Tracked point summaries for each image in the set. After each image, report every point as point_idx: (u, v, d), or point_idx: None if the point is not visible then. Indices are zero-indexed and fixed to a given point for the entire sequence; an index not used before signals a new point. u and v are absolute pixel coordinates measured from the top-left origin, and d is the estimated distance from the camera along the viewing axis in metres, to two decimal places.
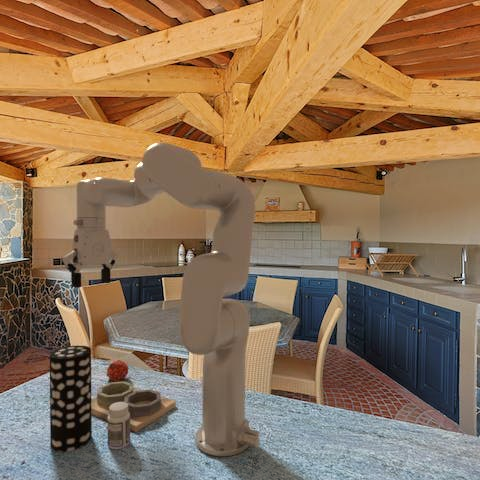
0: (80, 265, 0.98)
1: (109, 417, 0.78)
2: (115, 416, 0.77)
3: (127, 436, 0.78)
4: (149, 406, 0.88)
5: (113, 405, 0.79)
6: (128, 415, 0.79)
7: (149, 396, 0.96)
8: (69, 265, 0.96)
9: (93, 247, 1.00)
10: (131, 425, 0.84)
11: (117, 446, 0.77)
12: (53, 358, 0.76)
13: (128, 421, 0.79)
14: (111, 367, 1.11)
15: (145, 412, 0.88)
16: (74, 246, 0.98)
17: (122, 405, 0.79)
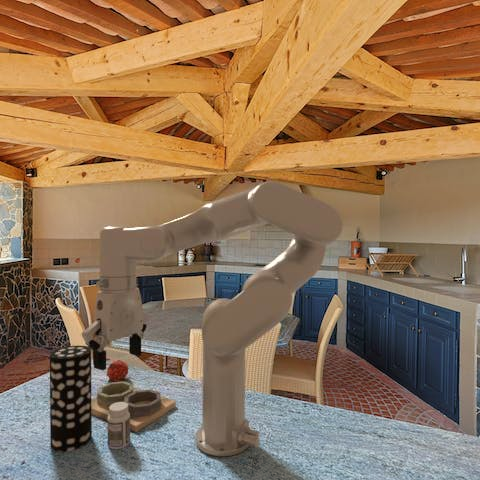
0: (105, 340, 0.74)
1: (109, 417, 0.78)
2: (115, 416, 0.77)
3: (127, 436, 0.78)
4: (149, 406, 0.88)
5: (113, 405, 0.79)
6: (128, 415, 0.79)
7: (149, 396, 0.96)
8: (91, 343, 0.72)
9: (121, 315, 0.76)
10: (131, 425, 0.84)
11: (117, 446, 0.77)
12: (53, 358, 0.76)
13: (128, 421, 0.79)
14: (111, 367, 1.11)
15: (145, 412, 0.88)
16: (97, 315, 0.74)
17: (122, 405, 0.79)
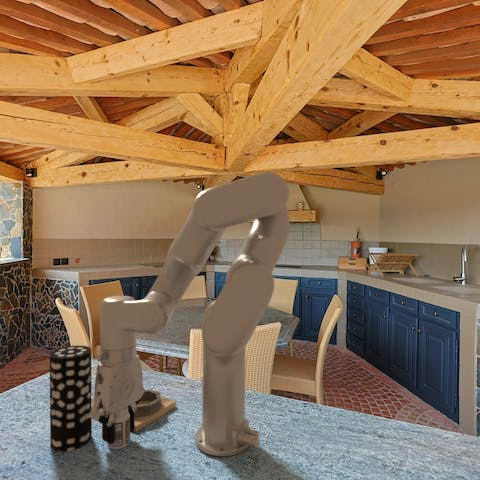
0: (111, 415, 0.76)
1: None
2: (115, 416, 0.77)
3: (127, 436, 0.78)
4: (149, 406, 0.88)
5: None
6: (128, 415, 0.79)
7: (149, 396, 0.96)
8: (100, 419, 0.74)
9: (122, 387, 0.76)
10: None
11: (117, 446, 0.77)
12: (53, 358, 0.76)
13: (128, 421, 0.79)
14: None
15: (145, 412, 0.88)
16: (98, 388, 0.75)
17: None
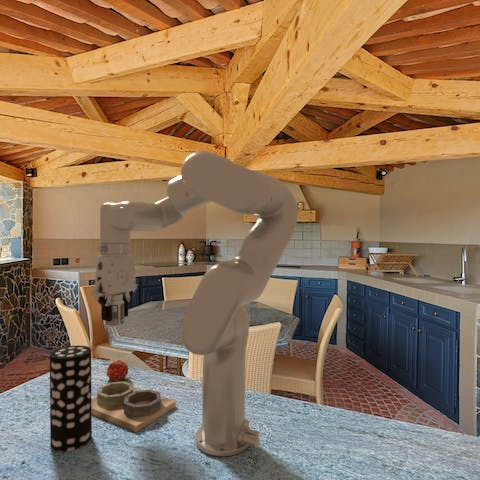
0: (109, 297, 0.92)
1: None
2: (112, 300, 0.94)
3: (122, 318, 0.95)
4: (149, 406, 0.88)
5: None
6: (122, 301, 0.96)
7: (149, 396, 0.96)
8: (100, 298, 0.91)
9: (118, 275, 0.93)
10: (131, 425, 0.84)
11: (113, 324, 0.94)
12: (53, 358, 0.76)
13: (122, 305, 0.95)
14: (111, 367, 1.11)
15: (145, 412, 0.88)
16: (98, 274, 0.91)
17: None
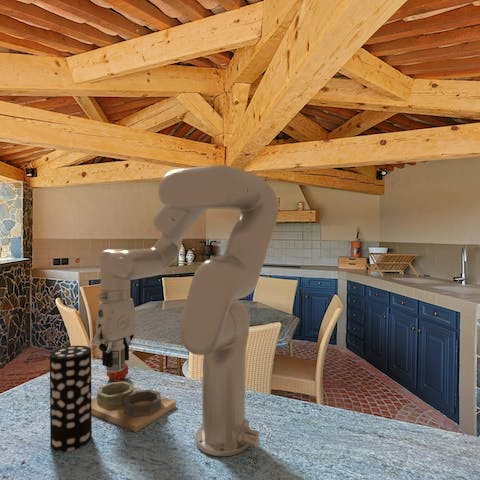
0: (109, 343, 0.93)
1: None
2: (112, 346, 0.95)
3: (122, 363, 0.96)
4: (149, 406, 0.88)
5: None
6: (123, 346, 0.97)
7: (149, 396, 0.96)
8: (101, 346, 0.92)
9: (118, 321, 0.94)
10: (131, 425, 0.84)
11: (114, 370, 0.95)
12: (53, 358, 0.76)
13: (123, 350, 0.96)
14: None
15: (145, 412, 0.88)
16: (99, 321, 0.92)
17: None
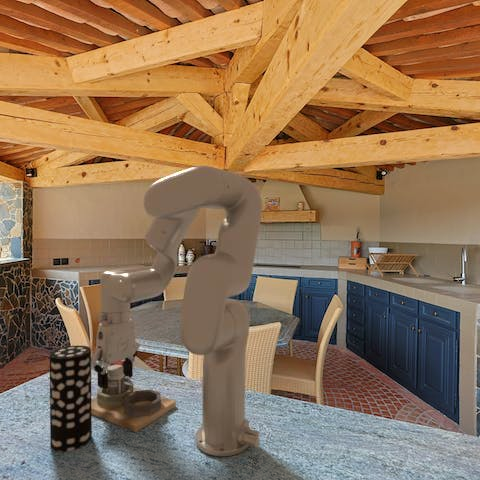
0: (106, 365, 0.93)
1: None
2: (112, 375, 0.95)
3: (122, 392, 0.96)
4: (149, 406, 0.88)
5: (111, 367, 0.97)
6: (123, 375, 0.97)
7: (149, 396, 0.96)
8: (96, 367, 0.91)
9: (118, 343, 0.94)
10: (131, 425, 0.84)
11: None
12: (53, 358, 0.76)
13: (123, 380, 0.96)
14: None
15: (145, 412, 0.88)
16: (98, 343, 0.93)
17: (118, 367, 0.97)
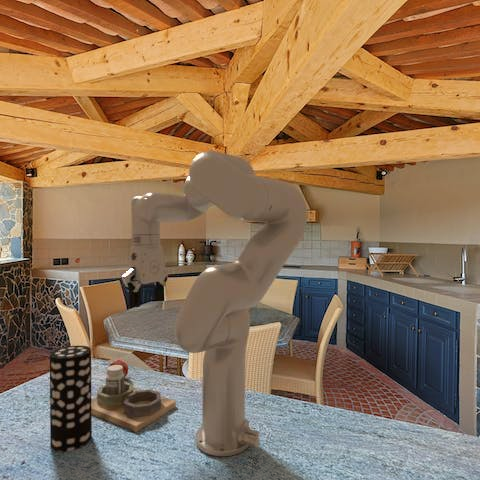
0: (138, 284, 0.95)
1: (107, 376, 0.96)
2: (112, 375, 0.95)
3: (122, 392, 0.96)
4: (149, 406, 0.88)
5: (110, 367, 0.97)
6: (123, 375, 0.97)
7: (149, 396, 0.96)
8: (129, 284, 0.92)
9: (150, 264, 0.97)
10: (131, 425, 0.84)
11: None
12: (53, 358, 0.76)
13: (123, 380, 0.96)
14: None
15: (145, 412, 0.88)
16: (132, 264, 0.95)
17: (118, 367, 0.97)
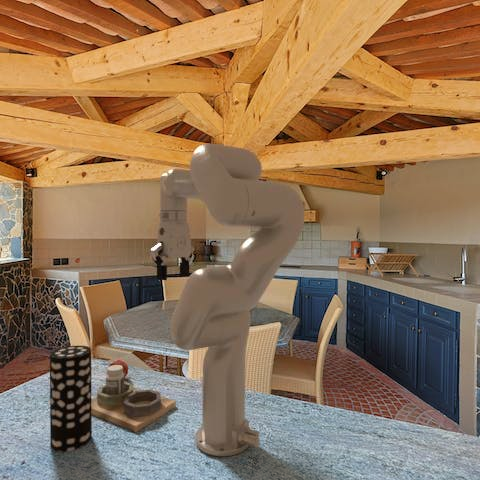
0: (166, 258, 0.98)
1: (107, 376, 0.96)
2: (112, 375, 0.95)
3: (122, 392, 0.96)
4: (149, 406, 0.88)
5: (110, 367, 0.97)
6: (123, 375, 0.97)
7: (149, 396, 0.96)
8: (157, 258, 0.96)
9: (177, 240, 1.00)
10: (131, 425, 0.84)
11: None
12: (53, 358, 0.76)
13: (123, 380, 0.96)
14: None
15: (145, 412, 0.88)
16: (160, 239, 0.98)
17: (118, 367, 0.97)
